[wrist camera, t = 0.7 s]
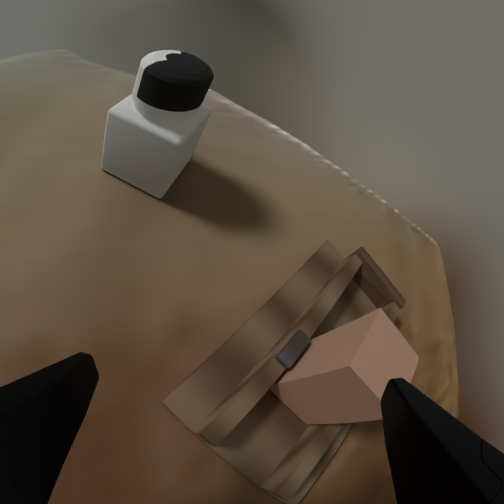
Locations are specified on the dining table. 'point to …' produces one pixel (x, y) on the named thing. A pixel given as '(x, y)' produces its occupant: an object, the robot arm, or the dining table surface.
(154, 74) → the medicine bottle
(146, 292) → the dining table surface
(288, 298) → the walnut chute
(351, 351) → the terracotta block
